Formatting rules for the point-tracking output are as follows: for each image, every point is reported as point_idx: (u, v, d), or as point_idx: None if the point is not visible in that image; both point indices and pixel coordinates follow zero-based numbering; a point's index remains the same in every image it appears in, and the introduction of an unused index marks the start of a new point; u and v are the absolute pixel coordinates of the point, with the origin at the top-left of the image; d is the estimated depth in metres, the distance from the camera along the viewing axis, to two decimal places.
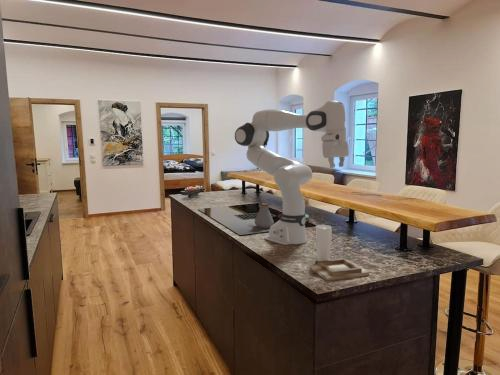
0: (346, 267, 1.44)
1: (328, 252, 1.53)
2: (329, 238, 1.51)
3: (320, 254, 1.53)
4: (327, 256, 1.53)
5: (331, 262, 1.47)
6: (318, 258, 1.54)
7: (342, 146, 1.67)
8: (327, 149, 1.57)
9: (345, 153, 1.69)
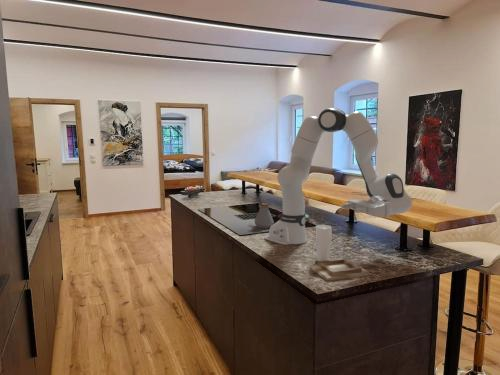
0: (346, 267, 1.44)
1: (328, 252, 1.53)
2: (329, 238, 1.51)
3: (320, 254, 1.53)
4: (327, 256, 1.53)
5: (331, 262, 1.47)
6: (318, 258, 1.54)
7: None
8: (380, 212, 1.49)
9: None
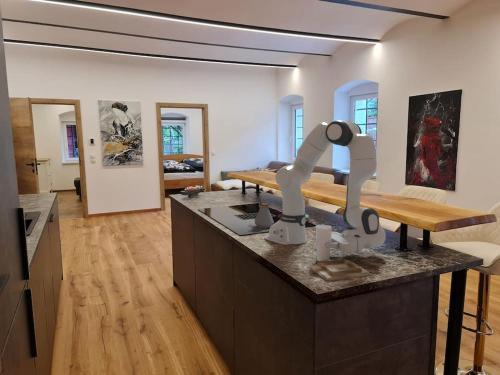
0: (346, 267, 1.44)
1: (328, 252, 1.53)
2: (329, 237, 1.51)
3: (320, 254, 1.53)
4: (327, 256, 1.53)
5: (331, 262, 1.47)
6: (318, 258, 1.54)
7: None
8: (351, 249, 1.47)
9: None
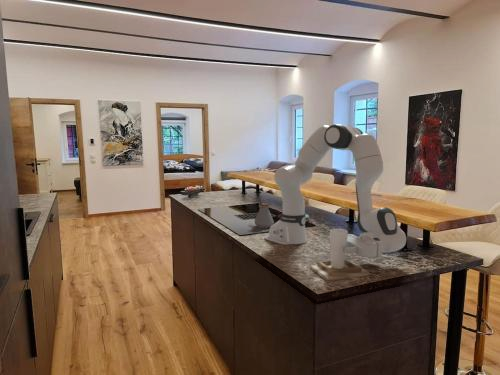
0: (346, 267, 1.44)
1: (343, 258, 1.41)
2: (344, 243, 1.39)
3: (334, 260, 1.41)
4: (342, 262, 1.41)
5: None
6: (332, 264, 1.43)
7: None
8: (371, 253, 1.35)
9: None
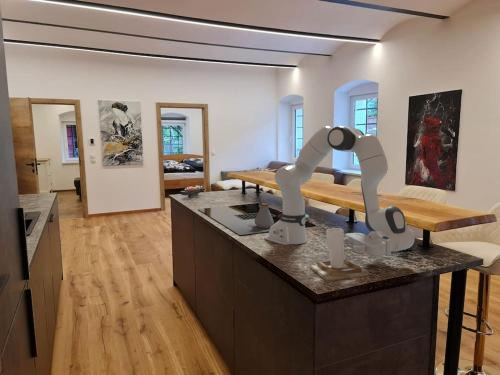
0: (346, 267, 1.44)
1: (342, 257, 1.42)
2: (341, 241, 1.40)
3: (333, 260, 1.42)
4: (341, 261, 1.42)
5: None
6: (332, 264, 1.43)
7: None
8: (380, 252, 1.35)
9: None
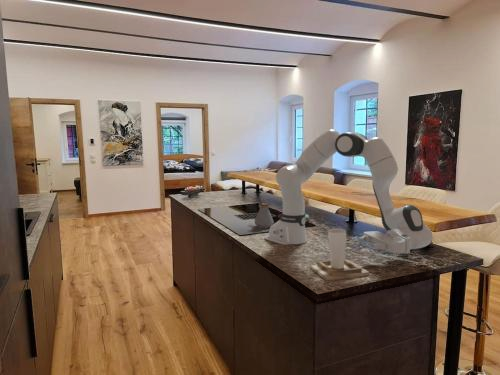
0: (346, 267, 1.44)
1: (343, 258, 1.41)
2: (343, 243, 1.40)
3: (334, 260, 1.41)
4: (342, 262, 1.41)
5: None
6: (332, 264, 1.43)
7: None
8: (400, 249, 1.38)
9: None
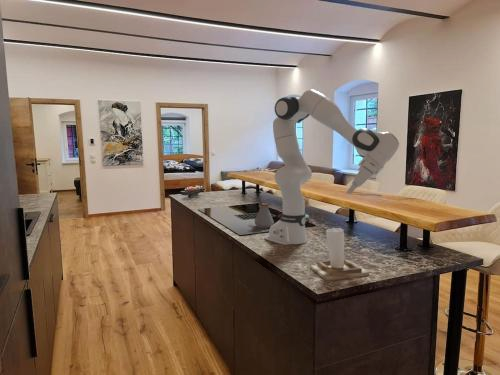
0: (346, 267, 1.44)
1: (342, 257, 1.42)
2: (341, 241, 1.40)
3: (334, 260, 1.42)
4: (341, 261, 1.42)
5: None
6: (332, 264, 1.43)
7: None
8: (363, 177, 1.43)
9: None
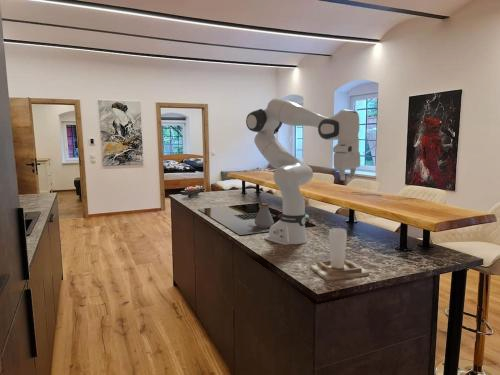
0: (346, 267, 1.44)
1: (343, 257, 1.42)
2: (344, 241, 1.40)
3: (334, 260, 1.42)
4: (342, 262, 1.42)
5: None
6: (332, 264, 1.43)
7: (354, 157, 1.60)
8: (339, 161, 1.50)
9: (357, 164, 1.62)
